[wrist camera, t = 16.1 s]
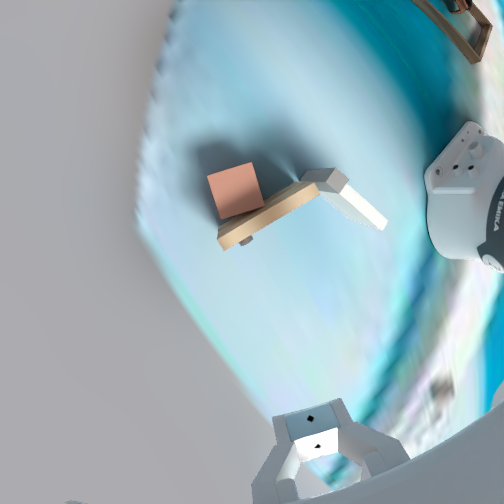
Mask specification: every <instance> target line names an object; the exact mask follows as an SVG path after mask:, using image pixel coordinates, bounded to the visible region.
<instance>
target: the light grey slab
mask: <svg viewBox="0 0 504 504" xmlns="http://www.w3.org/2000/svg"><path fill="white" fill-rule="evenodd" d="M348 180H349V179H348V178H347V177H346V176H345V175H344V174H342V173H341V172H340V171H339V170H338V169H337V168H327V169H316V170H307V171H306V172H305V174H304V175H303V176H302V178H301V179H300V181H299V182H314V183H315V185H316V186H317V188H318V190H319V192H320V196H321V197H322V198H324V199H325V200H326V201H327V202H329V203H330V204H331V205H332V206H334V207H335V208H336V209H337V210H338V211H340V212H341V213H342V214H343V215H344V216H346V217H347V218H348V219H349V220H352V221H355V222H358V223H361V224H363V225H366V226H369V227H372V228H374V229H377V230H380V231H382V230H383V228H384V227H385V225H386V224H387V222H388V221H387V220H386V219H385V218H384V217H383V216H382V215H381V214H380V213H379V212H378V211H377V210H376V209H375V208H374V207H372V206H371V205H370V204H369V203H368V202H367V201H366V200H365V199H364V198H363V197H361V196H360V195H359V194H358V193H357V192H356V191H355V190H354V189H352V188H351V187H350V186H349V185H348V184H347V182H348Z"/></svg>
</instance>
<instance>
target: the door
mask: <svg viewBox="0 0 504 504" xmlns="http://www.w3.org/2000/svg"><path fill="white" fill-rule="evenodd" d="M318 195H320V192H319V190H318V188H317V186H316V185H315V183H314V182H294V183H293V184H291V185H289V186H287V187H286V188H284V189H282V190H280V191H279V192H277V193H275V194H273V195H272V196H270V197H268V198H267V199H265V200H263V201H264V204H265V206H263V207H260V208H257V209H254V210H250V211H247V212H244V213H241V214H239V215H238V216H236V217H234V218H233V219H231V220H229V221H228V222H226V223H224V224H223V225H221V226H219V228H218V236H217V240H218V242H219V244H220V245H221V247H222V248H223V250H224V251H225V250H227V249H228V248H230V247H232V246H233V245H235V244H237V243H238V242H239V244H240V245H241V246H243V245H246V244H247V243H249V242H250V241H252V240H253V237H252V236H251V235H252V234H253V233H255V232H257V231H259V230H260V229H262V228H264V227H265V226H267V225H269V224H270V223H272V222H274V221H275V220H277V219H279V218H281V217H282V216H284V215H286V214H287V213H289V212H291V211H292V210H294V209H296V208H298V207H299V206H301V205H303V204H304V203H306V202H308V201H310V200H311V199H313V198H315V197H316V196H318Z"/></svg>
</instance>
